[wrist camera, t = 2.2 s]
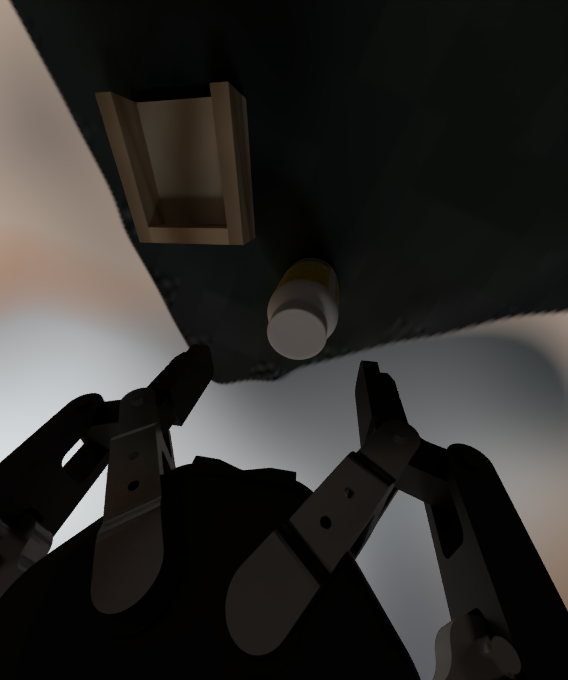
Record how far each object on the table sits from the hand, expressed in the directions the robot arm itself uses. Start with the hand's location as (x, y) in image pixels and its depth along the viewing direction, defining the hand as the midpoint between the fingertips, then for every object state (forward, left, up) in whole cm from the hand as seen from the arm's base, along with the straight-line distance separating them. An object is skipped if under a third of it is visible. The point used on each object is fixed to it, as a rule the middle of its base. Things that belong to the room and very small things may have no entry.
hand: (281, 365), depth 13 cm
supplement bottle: (0, 0, -14) cm, 14 cm away
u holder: (+10, -9, -13) cm, 19 cm away
